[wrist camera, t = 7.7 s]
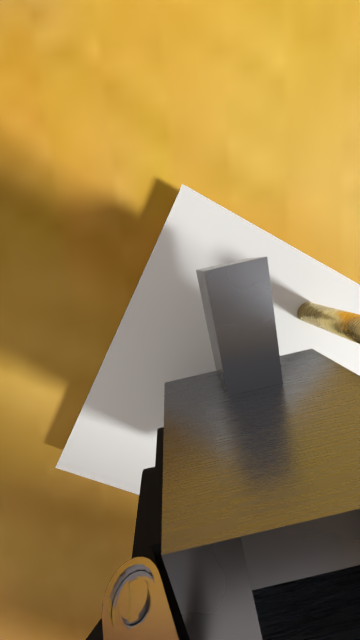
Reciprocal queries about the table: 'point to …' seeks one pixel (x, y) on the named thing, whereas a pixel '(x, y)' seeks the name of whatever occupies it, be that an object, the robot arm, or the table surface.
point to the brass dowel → (331, 320)
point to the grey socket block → (261, 478)
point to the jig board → (191, 334)
